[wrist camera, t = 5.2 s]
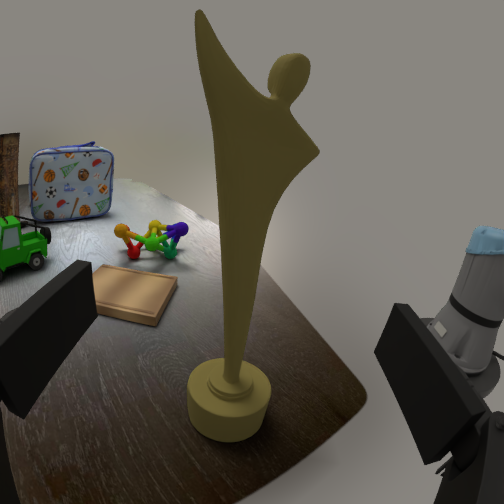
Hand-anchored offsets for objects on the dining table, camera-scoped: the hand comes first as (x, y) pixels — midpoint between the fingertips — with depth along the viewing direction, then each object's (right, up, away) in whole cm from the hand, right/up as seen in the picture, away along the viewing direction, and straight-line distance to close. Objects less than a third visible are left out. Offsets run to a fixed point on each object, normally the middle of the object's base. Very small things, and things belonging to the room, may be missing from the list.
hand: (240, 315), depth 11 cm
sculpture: (-2, -13, +13) cm, 18 cm away
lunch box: (-52, +12, +59) cm, 80 cm away
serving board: (-19, -4, +29) cm, 34 cm away
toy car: (-44, -1, +28) cm, 52 cm away
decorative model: (-20, +2, +44) cm, 48 cm away
